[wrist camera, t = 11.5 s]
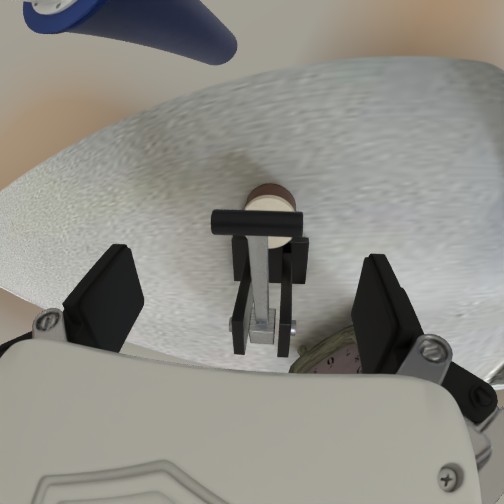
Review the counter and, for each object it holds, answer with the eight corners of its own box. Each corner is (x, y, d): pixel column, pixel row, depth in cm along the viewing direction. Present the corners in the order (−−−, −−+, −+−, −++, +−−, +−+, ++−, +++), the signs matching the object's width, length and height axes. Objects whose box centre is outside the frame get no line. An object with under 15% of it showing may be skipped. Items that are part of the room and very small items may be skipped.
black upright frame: (233, 234, 36) (206, 312, 24) (308, 237, 35) (317, 318, 23) (235, 275, 39) (213, 357, 27) (304, 278, 38) (308, 363, 26)
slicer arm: (215, 198, 17) (207, 228, 15) (302, 201, 16) (303, 231, 15) (238, 320, 28) (235, 342, 27) (289, 322, 28) (288, 345, 26)
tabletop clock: (358, 295, 38) (393, 474, 17) (392, 325, 40) (428, 478, 19) (286, 347, 45) (276, 501, 23) (323, 369, 47) (326, 507, 26)
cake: (245, 183, 32) (238, 201, 27) (296, 184, 31) (298, 203, 27) (247, 228, 35) (240, 253, 30) (294, 230, 34) (295, 255, 29)
